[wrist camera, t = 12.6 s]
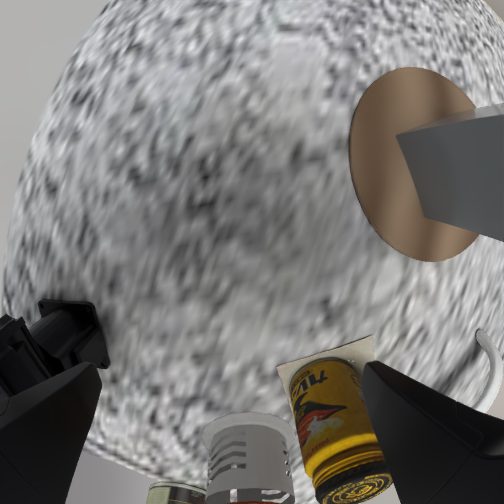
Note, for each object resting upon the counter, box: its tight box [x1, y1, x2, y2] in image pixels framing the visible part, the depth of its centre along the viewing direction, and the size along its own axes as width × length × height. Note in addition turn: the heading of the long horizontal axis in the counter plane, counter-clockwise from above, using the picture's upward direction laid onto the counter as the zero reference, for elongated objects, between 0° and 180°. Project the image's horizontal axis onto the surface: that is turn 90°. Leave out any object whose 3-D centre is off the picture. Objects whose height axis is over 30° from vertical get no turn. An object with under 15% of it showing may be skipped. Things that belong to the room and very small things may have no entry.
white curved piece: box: [471, 330, 503, 413], centre depth 21 cm, size 24×12×7 cm, turn 146°
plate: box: [349, 67, 479, 262], centre depth 18 cm, size 16×16×1 cm
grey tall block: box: [395, 103, 504, 242], centre depth 11 cm, size 7×7×14 cm
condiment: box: [276, 335, 393, 504], centre depth 17 cm, size 7×8×12 cm
